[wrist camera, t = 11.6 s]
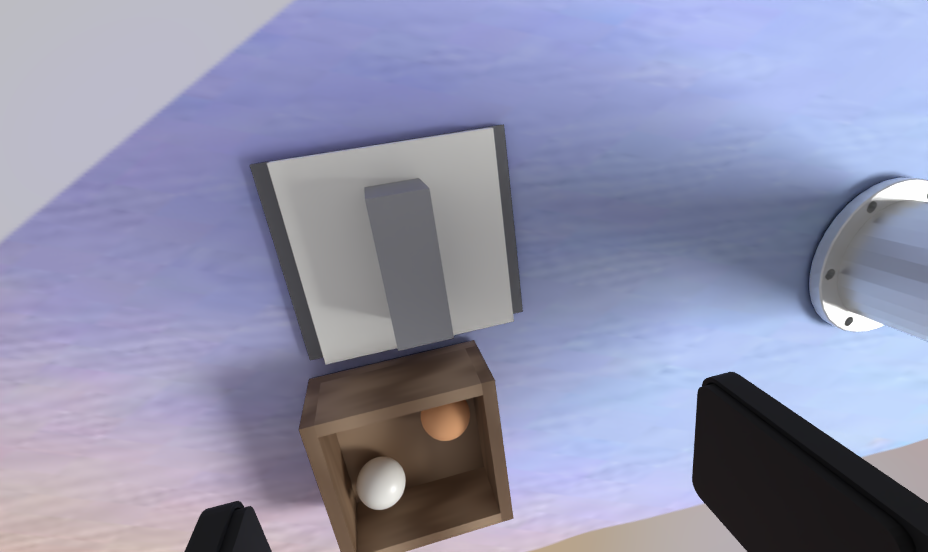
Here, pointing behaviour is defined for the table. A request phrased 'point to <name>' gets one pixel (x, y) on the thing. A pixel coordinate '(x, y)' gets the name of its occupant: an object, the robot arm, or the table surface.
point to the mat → (288, 260)
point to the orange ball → (446, 420)
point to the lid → (397, 241)
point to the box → (408, 449)
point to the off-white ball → (380, 483)
